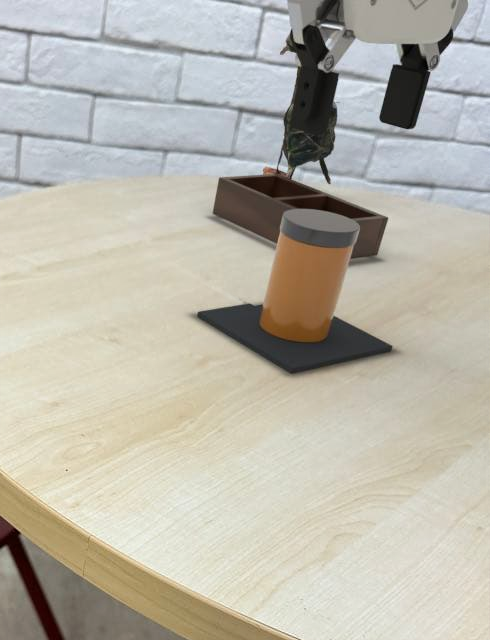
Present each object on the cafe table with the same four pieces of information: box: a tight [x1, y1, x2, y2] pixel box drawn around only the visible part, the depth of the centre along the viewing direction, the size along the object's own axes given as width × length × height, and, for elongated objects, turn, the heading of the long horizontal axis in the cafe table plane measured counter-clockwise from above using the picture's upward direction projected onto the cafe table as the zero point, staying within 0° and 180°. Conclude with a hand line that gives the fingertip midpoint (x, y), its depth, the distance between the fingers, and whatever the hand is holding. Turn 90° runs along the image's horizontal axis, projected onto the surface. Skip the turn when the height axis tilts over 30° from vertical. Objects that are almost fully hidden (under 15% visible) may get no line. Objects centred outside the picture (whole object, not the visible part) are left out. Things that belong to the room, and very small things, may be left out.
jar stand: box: [212, 174, 389, 260], centre depth 96 cm, size 9×18×5 cm, turn 33°
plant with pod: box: [262, 33, 340, 185], centre depth 107 cm, size 8×11×20 cm
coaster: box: [196, 302, 393, 374], centre depth 74 cm, size 12×12×1 cm
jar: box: [259, 209, 360, 343], centre depth 71 cm, size 6×6×9 cm
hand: (353, 128), depth 64 cm, fingers open, 9 cm apart
